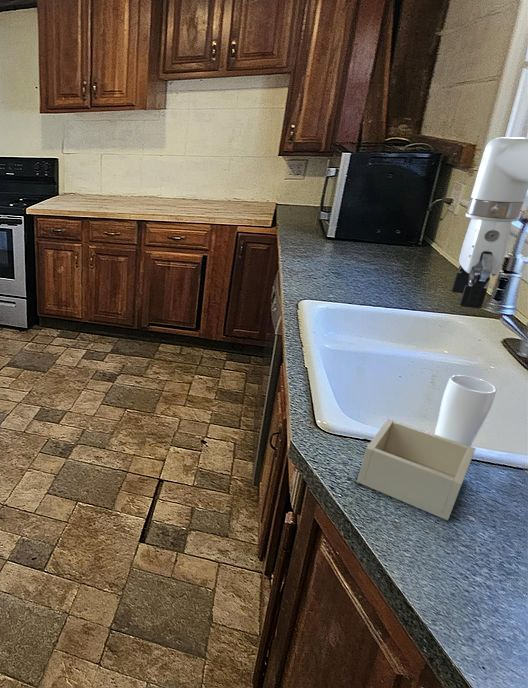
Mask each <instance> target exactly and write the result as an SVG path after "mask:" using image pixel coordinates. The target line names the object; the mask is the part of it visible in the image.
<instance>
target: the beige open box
mask: <svg viewBox="0 0 528 688" xmlns="http://www.w3.org/2000/svg"><path fill="white" fill-rule="evenodd" d="M475 452H476V447H473V446H471V447H470V446H467V445H464V444H461V443H458V442H455V441H452V440H450V439H447V438H444V437H441V436H438V435H435V433H433V432H429V431H426V430H423V429H420V428H417V427H414V426H411V425H408V424H406V423H403V422H399V421H396V420H393V419H390V418H386V420H385V421H384V423H383V424H382V426H381V427H380V429H379V430H378V431H377V432H376V434H375V435H374V437H373V438H372V440H371V441H370V442H369V444H368V445H367V447H365V451H364V455H363V459H362V462H361V466H360V469H359V473H358V475H357V480H356V483H358V484H361V485H362V486H365V487H367V488H370V489H373V490H374V491H377V492H379V493H382V494H384V495H386V496H388V497H391V498H394V499H396V500H398V501H401V502H402V503H403V502H404V503H406V504H408V505H410V506H413V507H415V508H418V509H420V510H422V511H424V512H427V513H429V514H431V515H433V516H436V517H438V518H440V519H443V520H444V521H445V520H446V521H449V519H450V516H451V514H452V511H453V509H454V507H455V504H456V501H457V498H458V496H459V493H460V491H461V488H462V486H463V484H464V481H465V478H466V475H467V473H468V470H469V467H470V465H471V462H472V460H473V458H474V454H475Z"/></svg>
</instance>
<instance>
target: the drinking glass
mask: <svg viewBox="0 0 528 688" xmlns="http://www.w3.org/2000/svg"><path fill="white" fill-rule="evenodd" d="M496 394H497V388H496V386H495V385H494V384H493V383H491V382H489V381H486V380H484V379H481V378H479V377H476V376H470V375H465V374H464V375H463V374H456V375H455V374H454V375H451V376H450V377H449V379H448V381H447V384H446V386H445V388H444V392H443V395H442V398H441V403H440V407H439V412H438V417H437V422H436V425H435V429H434V430H435V431H434V434H435V435H438V436H441V437H444V438H447V439H450V440H452V441H455V442H458V443H461V444H464V445H467V446H470V447H472V445H473V443H474V442H475V440H476V438H477V435H478V434H479V431H480V430H481V428H482V425H483V424H484V423H485V420H486V419H487V417H488V414H489V413H490V411H491V408H492V405H493V403H494V400H495V396H496Z"/></svg>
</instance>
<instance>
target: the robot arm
mask: <svg viewBox="0 0 528 688" xmlns="http://www.w3.org/2000/svg"><path fill="white" fill-rule="evenodd" d="M527 193H528V137H497V138H493V139H491V140H489V142H488V143H487V144H486V145H485V148H484V151H483V154H482V157H481V160H480V163H479V167H478V171H477V174H476V178H475V181H474V185H473V187H472V192H471V195H470V198H469V200H468V201H469V202H468V205H467V209H466V212H465V217H466V218H468V219H470V221H469V223H468V227H467V231H466V233H465V236H464V239H463V242H462V246H461V249H460V253H459V258H458V263H459V266H458V268H457V272H456V274H455V277H454V280H453V283H452V286H451V292H452V293H456V294H462V295H461V299H460V302H459V305H460V307H464V308H471V309H481V308H482V307H483V304H484V301H485V299H486V298H485V297H486V295H487V291H488V289H489V284H490V280H491V277H490V275H491V276H492V277H497V276H498V275H499V274H500V273H501V269H502V266H503V261H504V259H505V254H506V251H507V247H508V244H509V239H510V235H511V229H512V223H513V222H517V221H518V219H519V217H520V214H521V211H522V208H523V206H524V201H525V198H526V196H527Z"/></svg>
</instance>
